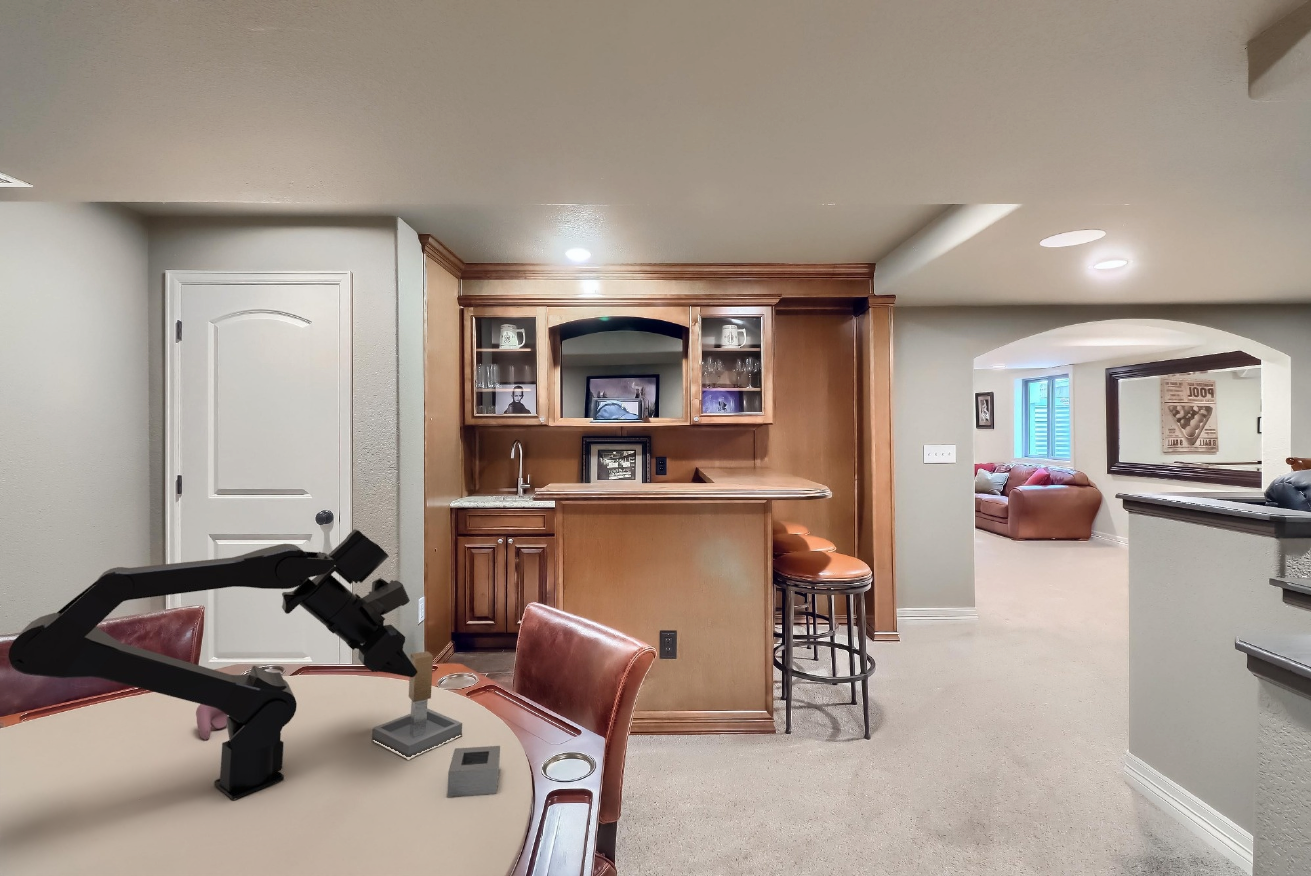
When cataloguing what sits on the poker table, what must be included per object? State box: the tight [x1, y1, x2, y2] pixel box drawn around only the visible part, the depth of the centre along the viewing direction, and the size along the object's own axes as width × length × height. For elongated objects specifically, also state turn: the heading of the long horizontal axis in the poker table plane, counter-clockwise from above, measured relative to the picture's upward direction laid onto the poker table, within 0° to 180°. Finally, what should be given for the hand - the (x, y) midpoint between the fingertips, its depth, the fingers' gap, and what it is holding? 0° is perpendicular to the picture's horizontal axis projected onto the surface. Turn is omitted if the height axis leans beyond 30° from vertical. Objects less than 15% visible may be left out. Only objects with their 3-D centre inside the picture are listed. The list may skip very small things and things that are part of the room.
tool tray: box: [371, 707, 463, 757], centre depth 97 cm, size 10×10×2 cm
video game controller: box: [195, 704, 228, 741], centre depth 100 cm, size 10×5×7 cm, turn 141°
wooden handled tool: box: [408, 650, 434, 738], centre depth 98 cm, size 3×3×13 cm
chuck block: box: [446, 745, 501, 798], centre depth 85 cm, size 7×7×4 cm
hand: (406, 665), depth 96 cm, fingers open, 9 cm apart
